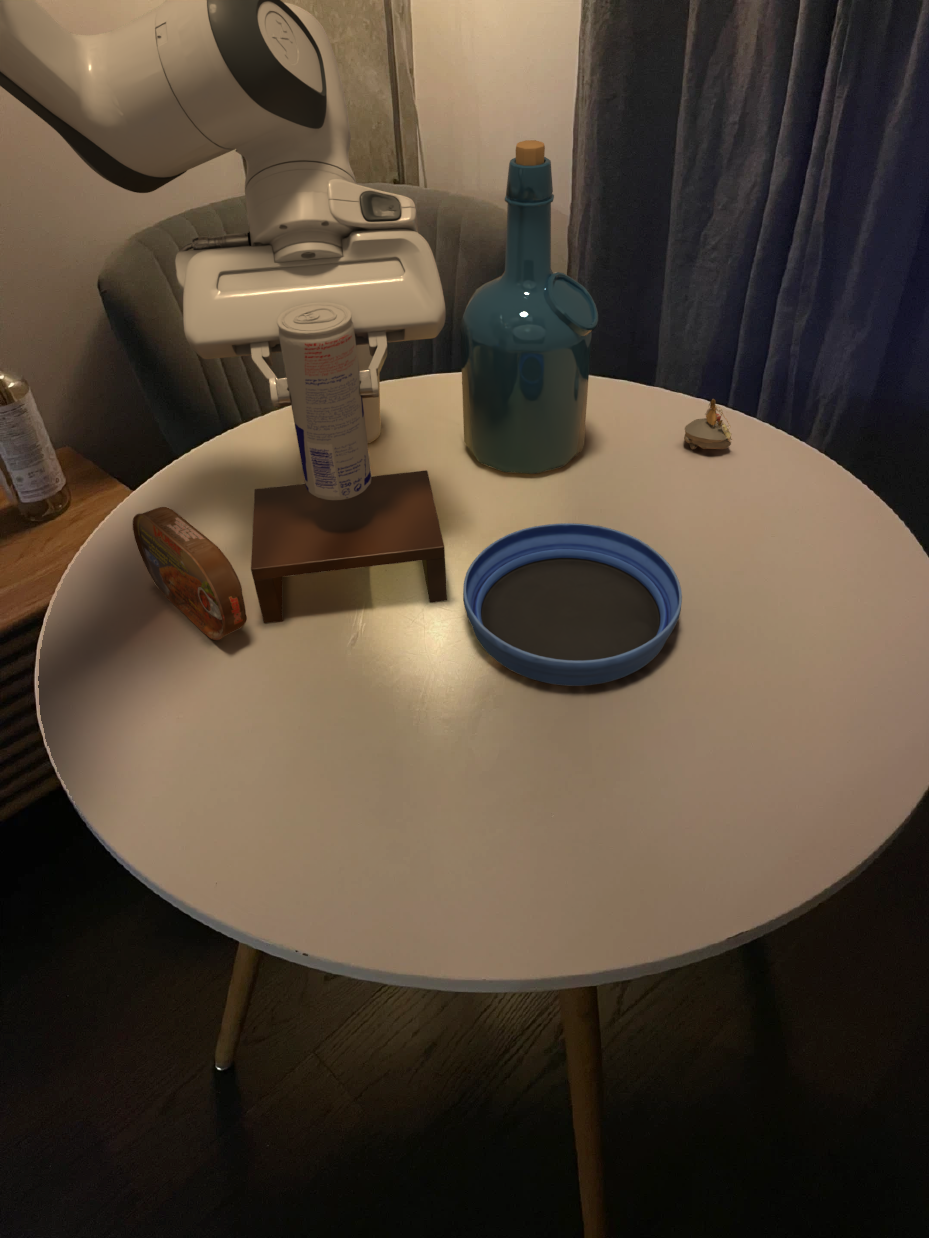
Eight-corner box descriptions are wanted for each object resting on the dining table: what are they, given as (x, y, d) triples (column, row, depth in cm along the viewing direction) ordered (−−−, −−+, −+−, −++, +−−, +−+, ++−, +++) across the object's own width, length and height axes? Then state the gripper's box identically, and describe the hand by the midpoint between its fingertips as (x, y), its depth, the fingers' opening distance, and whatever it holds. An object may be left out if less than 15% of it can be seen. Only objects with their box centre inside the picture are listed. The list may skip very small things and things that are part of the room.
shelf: (263, 623, 76) (250, 569, 72) (266, 541, 85) (254, 488, 81) (447, 601, 78) (444, 546, 74) (430, 522, 87) (427, 469, 83)
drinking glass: (374, 455, 96) (359, 321, 86) (317, 446, 98) (296, 314, 88) (397, 425, 101) (385, 295, 91) (343, 416, 103) (326, 288, 93)
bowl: (719, 617, 75) (726, 585, 73) (578, 730, 66) (581, 698, 64) (562, 528, 85) (564, 497, 83) (421, 616, 76) (418, 585, 74)
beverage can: (385, 478, 76) (367, 308, 66) (346, 511, 73) (321, 337, 63) (332, 461, 78) (307, 294, 68) (292, 493, 75) (260, 322, 65)
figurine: (675, 449, 95) (683, 399, 91) (691, 431, 98) (699, 381, 94) (722, 463, 93) (732, 411, 89) (737, 444, 96) (748, 393, 92)
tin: (144, 576, 82) (117, 500, 76) (174, 561, 83) (150, 486, 78) (229, 659, 73) (206, 580, 68) (261, 641, 75) (242, 562, 69)
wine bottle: (444, 465, 94) (428, 158, 74) (490, 407, 103) (487, 119, 83) (567, 490, 90) (586, 172, 70) (604, 428, 99) (629, 130, 79)
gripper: (162, 219, 66) (182, 401, 65) (434, 198, 68) (456, 374, 67) (181, 258, 72) (200, 424, 72) (430, 238, 74) (451, 399, 74)
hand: (326, 400), depth 69 cm, fingers closed on beverage can, 5 cm apart
